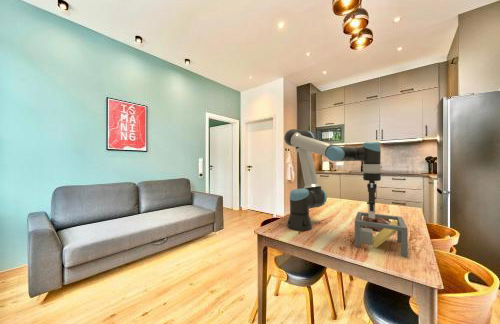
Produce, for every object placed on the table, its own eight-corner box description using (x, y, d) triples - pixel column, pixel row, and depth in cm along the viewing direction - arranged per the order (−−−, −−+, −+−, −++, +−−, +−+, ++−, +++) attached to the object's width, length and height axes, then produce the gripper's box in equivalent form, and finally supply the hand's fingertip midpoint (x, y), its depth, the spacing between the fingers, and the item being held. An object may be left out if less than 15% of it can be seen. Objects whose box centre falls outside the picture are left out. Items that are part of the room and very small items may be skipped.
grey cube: (372, 244, 97) (358, 242, 100) (372, 240, 102) (359, 238, 105) (372, 232, 97) (358, 230, 100) (372, 229, 102) (359, 227, 105)
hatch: (375, 248, 93) (373, 246, 93) (375, 238, 104) (373, 237, 105) (399, 229, 88) (396, 227, 88) (396, 221, 100) (394, 219, 100)
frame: (354, 246, 95) (354, 220, 95) (357, 233, 111) (357, 211, 111) (407, 257, 84) (407, 228, 84) (402, 241, 101) (402, 216, 101)
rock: (355, 210, 126) (379, 206, 125) (357, 226, 127) (381, 223, 126) (368, 219, 111) (395, 215, 110) (370, 237, 112) (398, 234, 110)
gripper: (381, 174, 87) (381, 222, 87) (380, 171, 108) (380, 210, 108) (361, 173, 91) (362, 219, 91) (364, 171, 112) (364, 208, 112)
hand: (372, 214), depth 99 cm, fingers open, 13 cm apart
